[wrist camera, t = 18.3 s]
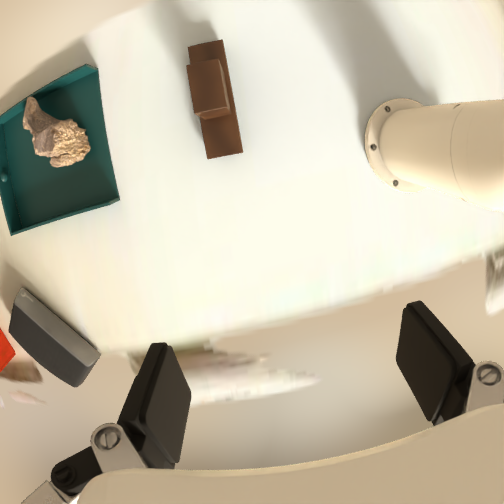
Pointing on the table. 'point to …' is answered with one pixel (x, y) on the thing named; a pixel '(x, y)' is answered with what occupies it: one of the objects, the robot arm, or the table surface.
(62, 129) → the rock
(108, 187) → the dustpan
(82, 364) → the hard drive
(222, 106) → the brown stepped block
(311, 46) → the table surface
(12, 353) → the file binder
